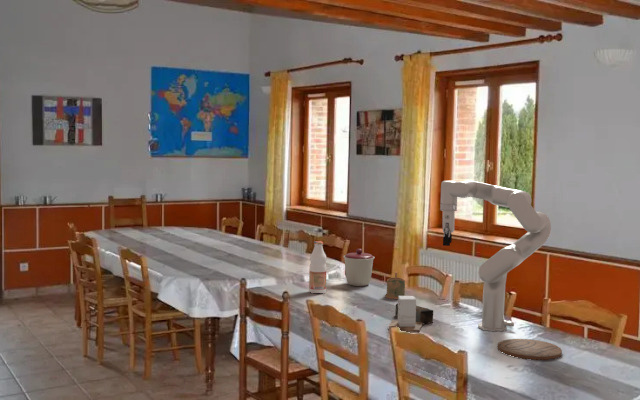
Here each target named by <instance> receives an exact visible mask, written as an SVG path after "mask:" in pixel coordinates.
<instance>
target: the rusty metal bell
mask: <svg viewBox="0 0 640 400" xmlns="http://www.w3.org/2000/svg"><path fill="white" fill-rule="evenodd" d="M405 290H406V280H405V279H403V278H401V277H398V272H397V271H395V272H394V277H390V278H388V279H387V280H386V293H385V295H384V297H385V298H386V299H392V300H398V296H407V295H406V291H405Z"/></svg>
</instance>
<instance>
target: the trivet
mask: <svg viewBox="0 0 640 400" xmlns="http://www.w3.org/2000/svg"><path fill="white" fill-rule="evenodd" d="M496 347H498V348H497V351H499V350H500V351H501V352H503V353H505V354H507V355H506V356H508V355H511V356H514V357H513V358H515V357H518V358H517V359H520V358H522V359H521V360H527V359H531V360H530V361H550V360H549V359H553V360H556V359H555V358H557V359H559V358H560V356H561V357H562V355H561V354H562V353H563V352H562V351H563V349H561V347H559V346H558V345H557V344H553V343H551V342H547V341H542V340H538V339H532V338H509V339H503V340H501V341H499V342H498V343H497V346H496ZM500 351H499V352H500ZM501 352H500V353H501ZM503 353H502V354H503ZM505 354H504V355H505ZM511 356H510V357H511ZM558 357H559V358H558Z"/></svg>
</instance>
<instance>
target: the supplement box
mask: <svg viewBox="0 0 640 400" xmlns="http://www.w3.org/2000/svg"><path fill="white" fill-rule="evenodd" d="M397 302H398V303H397V304H398V316H397V320H398V324H399V326H400V327H415V325H416V306H417V299H416V297H415V295H406V296H398V299H397Z"/></svg>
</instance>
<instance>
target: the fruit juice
mask: <svg viewBox="0 0 640 400" xmlns="http://www.w3.org/2000/svg"><path fill="white" fill-rule="evenodd" d="M313 245H314V247H313V250H312V252H311V253H310V256H309V261H310V265H309V268H308V270H309V271H308V277H309V278H308V292H309V293H310V292H311V293H310V294H313V293H323V294H325V292H327V264H326V262H327V254H326V252H325V251H324V248H323V247H324V246H323V245H324V242H323V241H320V240H319V241H318V240H317V241H313Z"/></svg>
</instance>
